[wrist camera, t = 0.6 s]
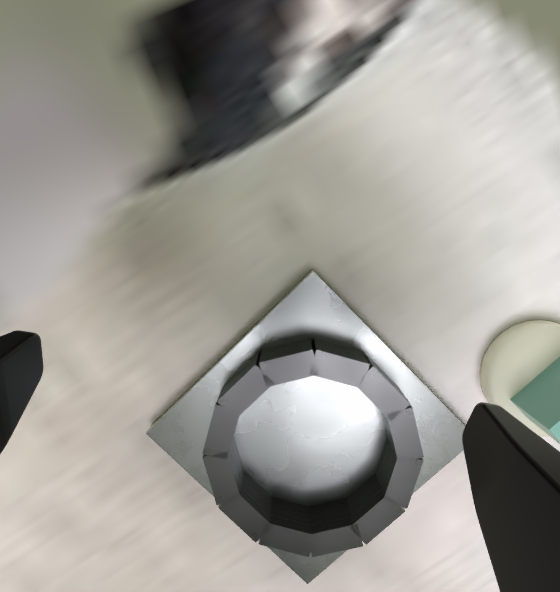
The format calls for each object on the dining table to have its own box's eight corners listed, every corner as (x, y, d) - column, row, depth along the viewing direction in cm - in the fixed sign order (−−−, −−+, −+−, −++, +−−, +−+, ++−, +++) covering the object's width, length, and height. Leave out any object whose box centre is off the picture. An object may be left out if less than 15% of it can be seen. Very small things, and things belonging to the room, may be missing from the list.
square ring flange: (469, 429, 24) (496, 460, 21) (306, 570, 26) (309, 618, 22) (312, 269, 23) (316, 275, 20) (151, 425, 24) (131, 454, 21)
